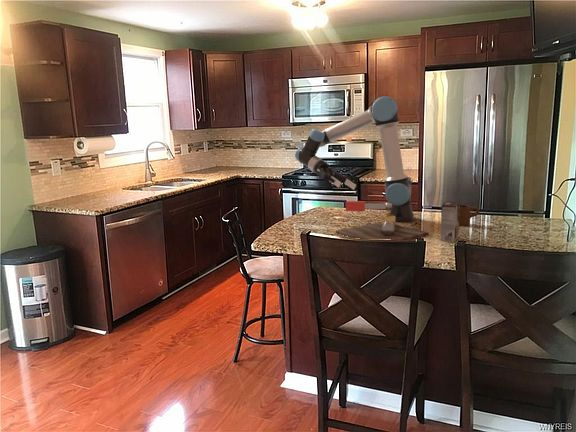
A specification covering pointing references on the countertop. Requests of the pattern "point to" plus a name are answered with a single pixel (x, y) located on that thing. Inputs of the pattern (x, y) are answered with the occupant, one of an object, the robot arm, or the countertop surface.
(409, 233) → the valve board
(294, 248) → the countertop surface
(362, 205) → the valve lever
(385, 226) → the valve pipe
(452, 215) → the coffee box
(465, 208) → the mug
